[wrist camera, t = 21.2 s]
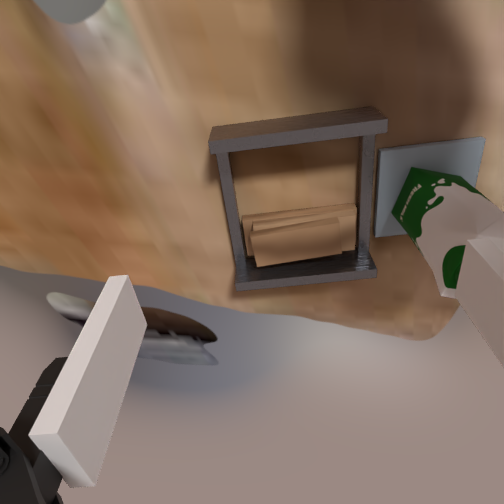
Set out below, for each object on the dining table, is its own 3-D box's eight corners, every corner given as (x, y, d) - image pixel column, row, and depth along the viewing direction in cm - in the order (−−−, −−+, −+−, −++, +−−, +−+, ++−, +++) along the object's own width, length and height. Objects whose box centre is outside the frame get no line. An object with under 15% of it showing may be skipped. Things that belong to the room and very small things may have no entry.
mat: (378, 149, 49) (381, 151, 49) (481, 136, 49) (485, 139, 48) (373, 233, 57) (375, 237, 56) (463, 224, 56) (466, 227, 55)
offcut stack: (242, 215, 55) (241, 232, 51) (354, 203, 54) (362, 219, 50) (247, 250, 58) (247, 268, 54) (353, 238, 57) (360, 256, 53)
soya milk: (407, 158, 49) (488, 239, 32) (471, 171, 50) (581, 256, 33) (382, 217, 54) (441, 314, 37) (441, 227, 55) (524, 326, 38)
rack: (212, 126, 48) (208, 141, 43) (373, 106, 46) (388, 119, 41) (237, 267, 60) (236, 291, 55) (365, 253, 59) (376, 277, 54)
